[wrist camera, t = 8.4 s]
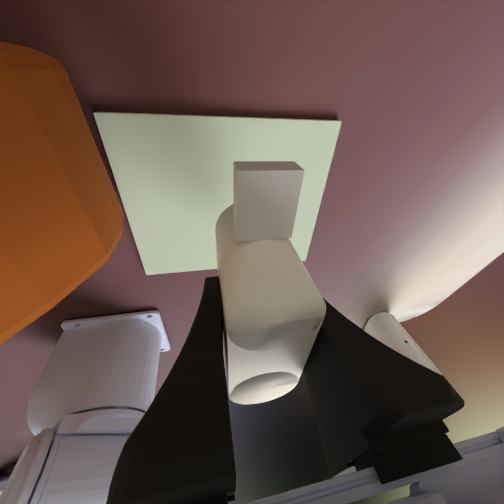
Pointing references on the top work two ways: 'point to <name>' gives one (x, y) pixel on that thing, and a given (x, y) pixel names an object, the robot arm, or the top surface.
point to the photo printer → (397, 338)
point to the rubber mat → (205, 177)
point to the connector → (264, 283)
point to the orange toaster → (47, 190)
